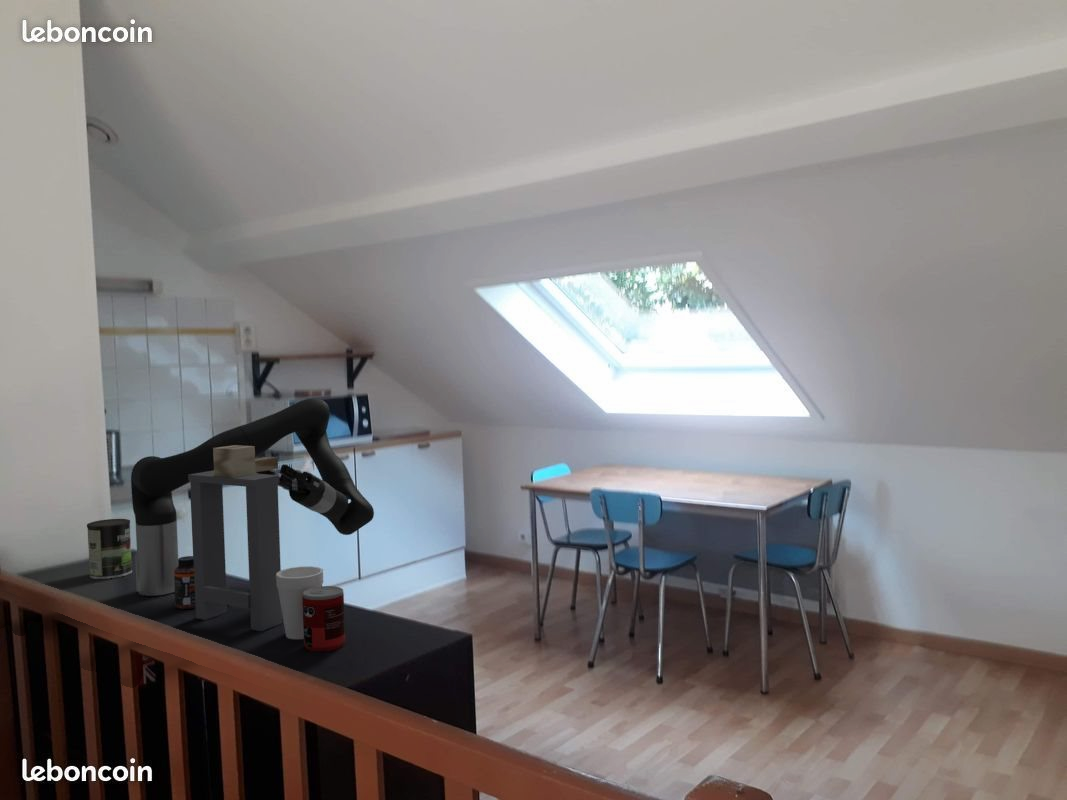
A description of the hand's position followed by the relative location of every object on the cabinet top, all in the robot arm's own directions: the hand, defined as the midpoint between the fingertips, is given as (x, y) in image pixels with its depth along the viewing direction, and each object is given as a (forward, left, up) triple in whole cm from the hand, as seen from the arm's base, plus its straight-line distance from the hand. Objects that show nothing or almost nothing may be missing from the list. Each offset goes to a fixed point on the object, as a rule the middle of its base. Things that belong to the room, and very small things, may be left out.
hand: (268, 467), depth 190 cm
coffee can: (-62, +2, -33) cm, 70 cm away
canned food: (+28, -14, -33) cm, 45 cm away
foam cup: (+19, -11, -33) cm, 39 cm away
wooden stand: (0, -10, -32) cm, 34 cm away
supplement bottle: (-19, -8, -33) cm, 38 cm away
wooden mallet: (0, -6, 0) cm, 6 cm away
